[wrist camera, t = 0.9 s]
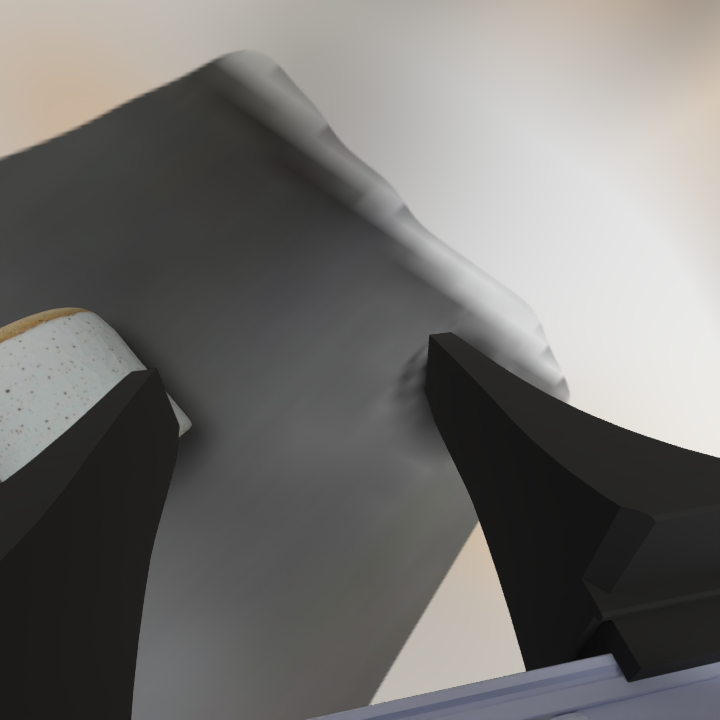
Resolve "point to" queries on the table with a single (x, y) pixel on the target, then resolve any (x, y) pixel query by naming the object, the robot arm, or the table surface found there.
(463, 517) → the table surface
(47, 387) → the ceramic mug
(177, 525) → the table surface
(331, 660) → the table surface
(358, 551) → the table surface
